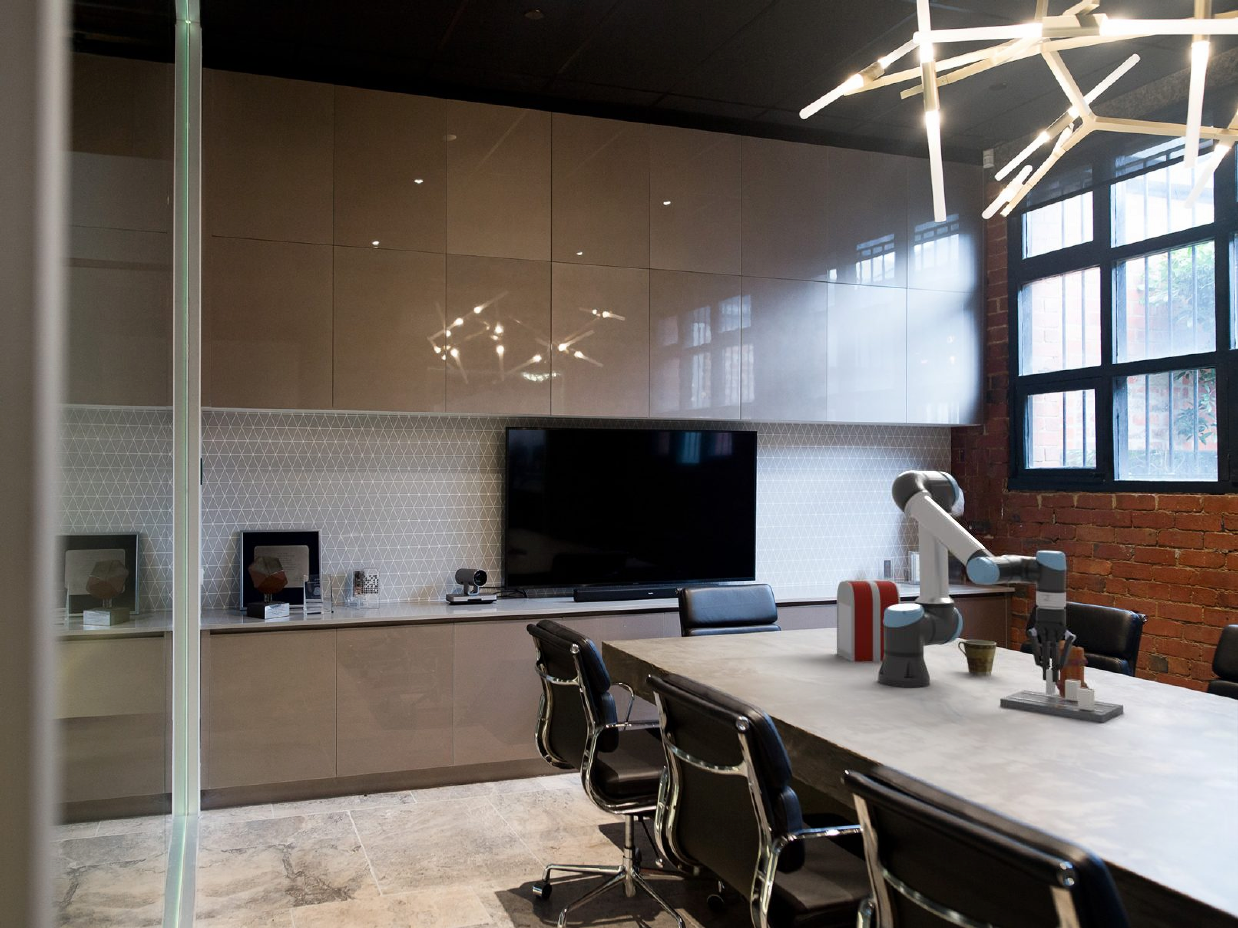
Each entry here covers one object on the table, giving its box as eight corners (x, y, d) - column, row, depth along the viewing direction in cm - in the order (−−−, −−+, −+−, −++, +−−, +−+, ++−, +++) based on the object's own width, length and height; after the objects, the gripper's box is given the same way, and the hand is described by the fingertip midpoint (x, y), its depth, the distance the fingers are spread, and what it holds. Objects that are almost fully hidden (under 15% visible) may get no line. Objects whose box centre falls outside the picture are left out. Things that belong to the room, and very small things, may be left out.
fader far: (1065, 699, 257) (1065, 679, 257) (1069, 697, 259) (1069, 678, 259) (1076, 700, 255) (1076, 681, 255) (1080, 699, 257) (1080, 679, 257)
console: (1000, 705, 258) (1000, 697, 258) (1024, 697, 269) (1024, 689, 269) (1102, 722, 240) (1102, 713, 240) (1123, 712, 251) (1123, 704, 251)
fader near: (1078, 708, 246) (1077, 688, 246) (1082, 706, 248) (1082, 686, 248) (1090, 710, 244) (1090, 689, 244) (1094, 708, 246) (1094, 688, 246)
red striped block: (835, 653, 341) (835, 578, 342) (883, 652, 343) (883, 577, 344) (852, 661, 325) (852, 582, 325) (901, 661, 327) (901, 582, 327)
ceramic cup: (1003, 674, 304) (1003, 642, 304) (984, 677, 298) (983, 645, 298) (967, 667, 314) (967, 637, 315) (948, 670, 309) (948, 640, 309)
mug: (1092, 701, 264) (1091, 647, 265) (1060, 700, 266) (1060, 646, 266) (1077, 690, 279) (1077, 639, 279) (1048, 689, 280) (1047, 638, 281)
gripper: (1021, 605, 263) (1021, 691, 263) (1070, 610, 254) (1070, 699, 254) (1032, 603, 269) (1032, 687, 268) (1080, 608, 260) (1080, 694, 259)
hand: (1050, 693), depth 261 cm, fingers closed
